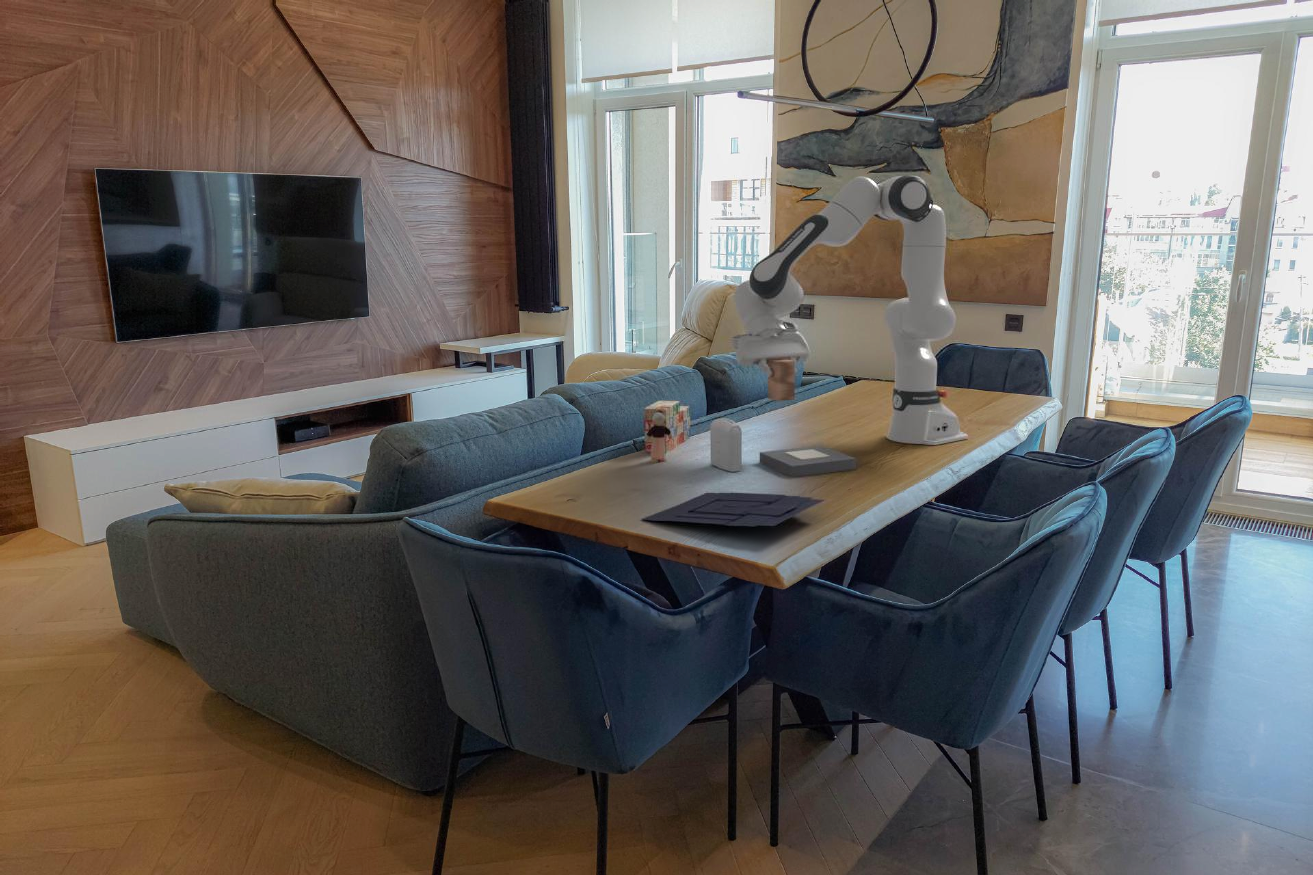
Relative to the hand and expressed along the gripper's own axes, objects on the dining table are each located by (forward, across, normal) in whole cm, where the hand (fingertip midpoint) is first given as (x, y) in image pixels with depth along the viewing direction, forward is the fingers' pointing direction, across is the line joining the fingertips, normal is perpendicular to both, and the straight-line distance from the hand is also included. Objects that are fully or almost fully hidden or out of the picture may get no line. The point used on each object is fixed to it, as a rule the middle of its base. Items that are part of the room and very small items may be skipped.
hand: (782, 374), depth 228 cm
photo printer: (+19, -19, +11) cm, 29 cm away
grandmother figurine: (+9, -31, +21) cm, 39 cm away
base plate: (+24, 0, +6) cm, 25 cm away
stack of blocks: (-2, -22, +33) cm, 39 cm away
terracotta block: (+4, 0, +5) cm, 6 cm away
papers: (+46, -36, -16) cm, 61 cm away
